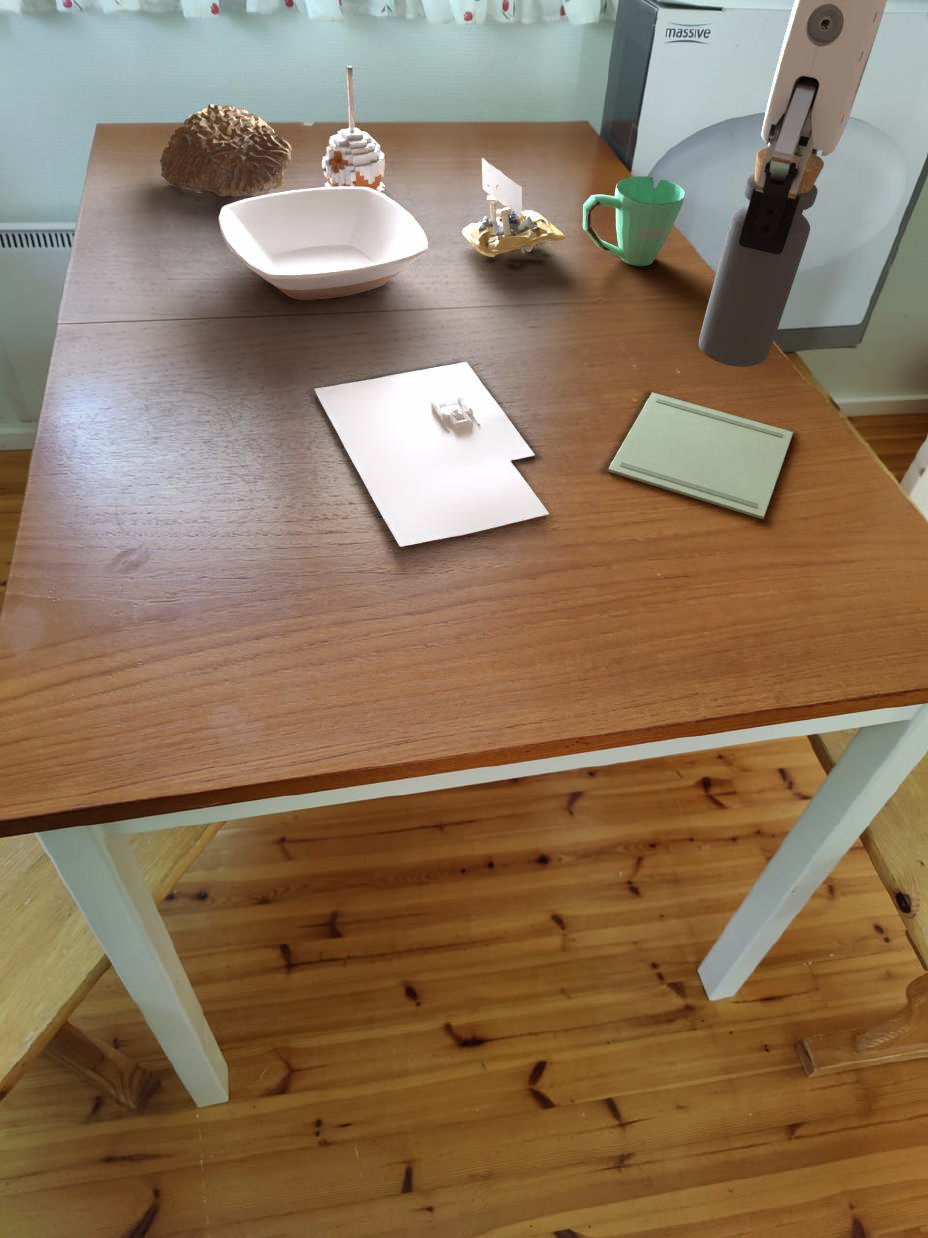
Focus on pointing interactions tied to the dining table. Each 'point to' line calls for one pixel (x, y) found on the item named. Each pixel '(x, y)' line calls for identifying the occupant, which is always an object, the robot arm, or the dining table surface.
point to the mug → (638, 217)
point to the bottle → (755, 281)
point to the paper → (433, 452)
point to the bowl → (323, 239)
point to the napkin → (704, 454)
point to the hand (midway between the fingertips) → (769, 229)
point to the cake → (507, 219)
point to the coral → (225, 153)
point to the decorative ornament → (353, 154)
